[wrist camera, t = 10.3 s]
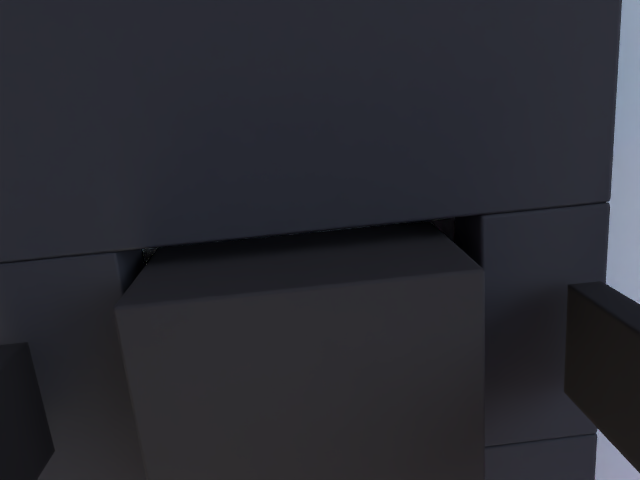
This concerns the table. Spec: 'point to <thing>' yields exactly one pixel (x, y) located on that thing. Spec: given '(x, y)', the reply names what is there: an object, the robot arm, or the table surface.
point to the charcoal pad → (303, 177)
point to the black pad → (309, 358)
